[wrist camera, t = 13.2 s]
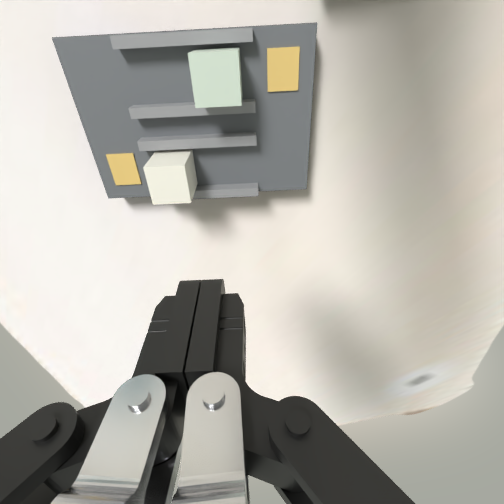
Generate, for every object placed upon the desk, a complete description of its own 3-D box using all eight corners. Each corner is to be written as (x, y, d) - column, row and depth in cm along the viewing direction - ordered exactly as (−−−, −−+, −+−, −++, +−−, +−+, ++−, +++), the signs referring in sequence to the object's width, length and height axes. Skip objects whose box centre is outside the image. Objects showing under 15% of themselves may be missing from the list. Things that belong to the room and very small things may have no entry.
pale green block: (196, 49, 28) (187, 53, 24) (239, 47, 28) (238, 50, 24) (202, 97, 30) (195, 108, 26) (242, 95, 30) (241, 105, 26)
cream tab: (155, 150, 34) (143, 167, 29) (192, 148, 33) (184, 165, 29) (163, 185, 36) (152, 204, 32) (197, 183, 36) (191, 203, 32)
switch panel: (67, 36, 30) (42, 37, 27) (311, 23, 30) (320, 22, 26) (117, 187, 40) (103, 204, 36) (302, 179, 39) (308, 194, 35)
